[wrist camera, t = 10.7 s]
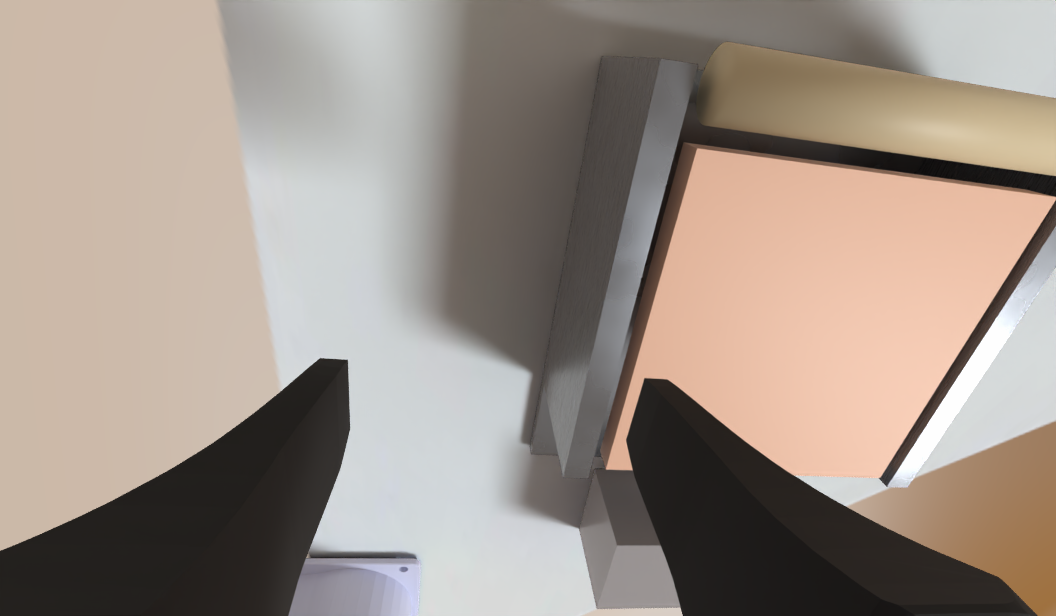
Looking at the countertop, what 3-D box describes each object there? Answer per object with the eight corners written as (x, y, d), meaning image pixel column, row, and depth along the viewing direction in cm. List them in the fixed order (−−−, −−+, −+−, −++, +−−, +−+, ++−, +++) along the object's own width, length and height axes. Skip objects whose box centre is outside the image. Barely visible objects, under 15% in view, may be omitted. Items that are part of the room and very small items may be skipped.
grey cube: (578, 527, 30) (596, 608, 26) (594, 467, 28) (616, 545, 24) (655, 528, 31) (685, 607, 27) (676, 469, 29) (713, 545, 24)
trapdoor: (600, 450, 20) (612, 490, 18) (710, 42, 13) (747, 40, 11) (863, 460, 21) (898, 497, 20) (1076, 105, 15) (1156, 112, 13)
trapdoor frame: (530, 446, 27) (545, 554, 21) (601, 56, 18) (661, 58, 12) (784, 455, 29) (861, 556, 23) (954, 113, 20) (1143, 137, 15)
